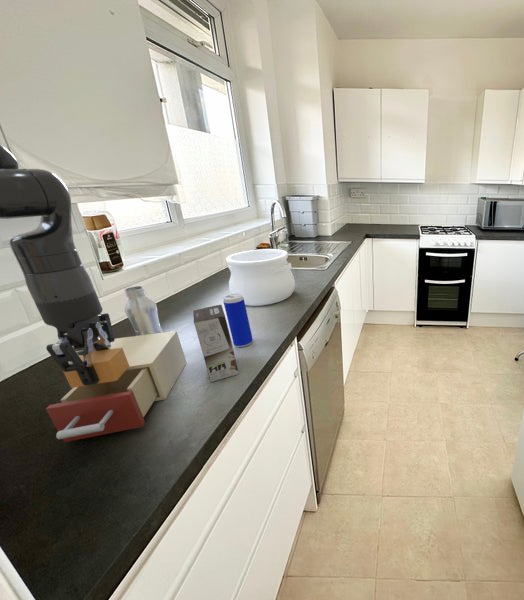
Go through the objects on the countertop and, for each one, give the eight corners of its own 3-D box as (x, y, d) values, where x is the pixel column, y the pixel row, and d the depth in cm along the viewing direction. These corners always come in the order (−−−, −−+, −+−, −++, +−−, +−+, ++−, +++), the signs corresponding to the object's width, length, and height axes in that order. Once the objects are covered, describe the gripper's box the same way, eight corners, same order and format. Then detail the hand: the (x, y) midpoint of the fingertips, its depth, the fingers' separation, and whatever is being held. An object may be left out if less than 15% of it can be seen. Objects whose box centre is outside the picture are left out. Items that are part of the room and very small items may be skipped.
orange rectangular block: (71, 388, 57) (61, 367, 56) (87, 372, 62) (79, 353, 60) (116, 380, 59) (108, 361, 58) (129, 366, 64) (122, 347, 62)
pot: (308, 288, 137) (303, 248, 130) (278, 310, 115) (270, 264, 108) (254, 285, 141) (247, 247, 135) (216, 306, 119) (204, 261, 112)
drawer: (131, 446, 57) (116, 412, 54) (45, 464, 53) (23, 429, 50) (169, 383, 74) (159, 354, 71) (106, 393, 70) (92, 364, 67)
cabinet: (165, 399, 70) (151, 363, 66) (90, 413, 66) (72, 375, 62) (186, 362, 84) (176, 330, 80) (126, 371, 80) (112, 338, 76)
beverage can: (256, 340, 94) (247, 293, 89) (245, 348, 90) (234, 300, 84) (242, 338, 95) (231, 292, 90) (230, 346, 91) (218, 299, 85)
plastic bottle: (140, 356, 87) (115, 288, 79) (170, 347, 91) (148, 282, 83) (143, 365, 82) (117, 295, 75) (174, 356, 86) (151, 288, 79)
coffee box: (239, 374, 78) (225, 316, 72) (210, 382, 75) (192, 322, 69) (235, 357, 85) (222, 303, 79) (208, 364, 82) (192, 309, 76)
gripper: (64, 305, 49) (104, 394, 55) (112, 278, 61) (140, 353, 68) (2, 312, 47) (50, 402, 53) (65, 282, 59) (98, 358, 66)
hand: (100, 374), depth 60 cm, fingers closed on orange rectangular block, 5 cm apart
